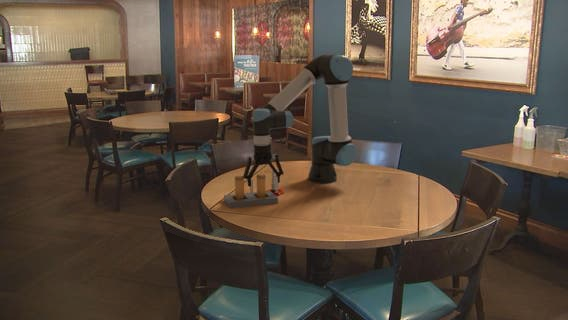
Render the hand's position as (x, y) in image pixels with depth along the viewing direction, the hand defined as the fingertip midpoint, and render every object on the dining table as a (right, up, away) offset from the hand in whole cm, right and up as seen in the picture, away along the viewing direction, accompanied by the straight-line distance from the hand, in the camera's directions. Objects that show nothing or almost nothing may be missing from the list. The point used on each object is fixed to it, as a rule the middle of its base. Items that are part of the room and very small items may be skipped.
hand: (264, 191), depth 222 cm
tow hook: (+5, -2, +13) cm, 14 cm away
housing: (-6, -5, -1) cm, 8 cm away
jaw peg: (-1, -4, 0) cm, 5 cm away
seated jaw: (-11, -5, -3) cm, 12 cm away
